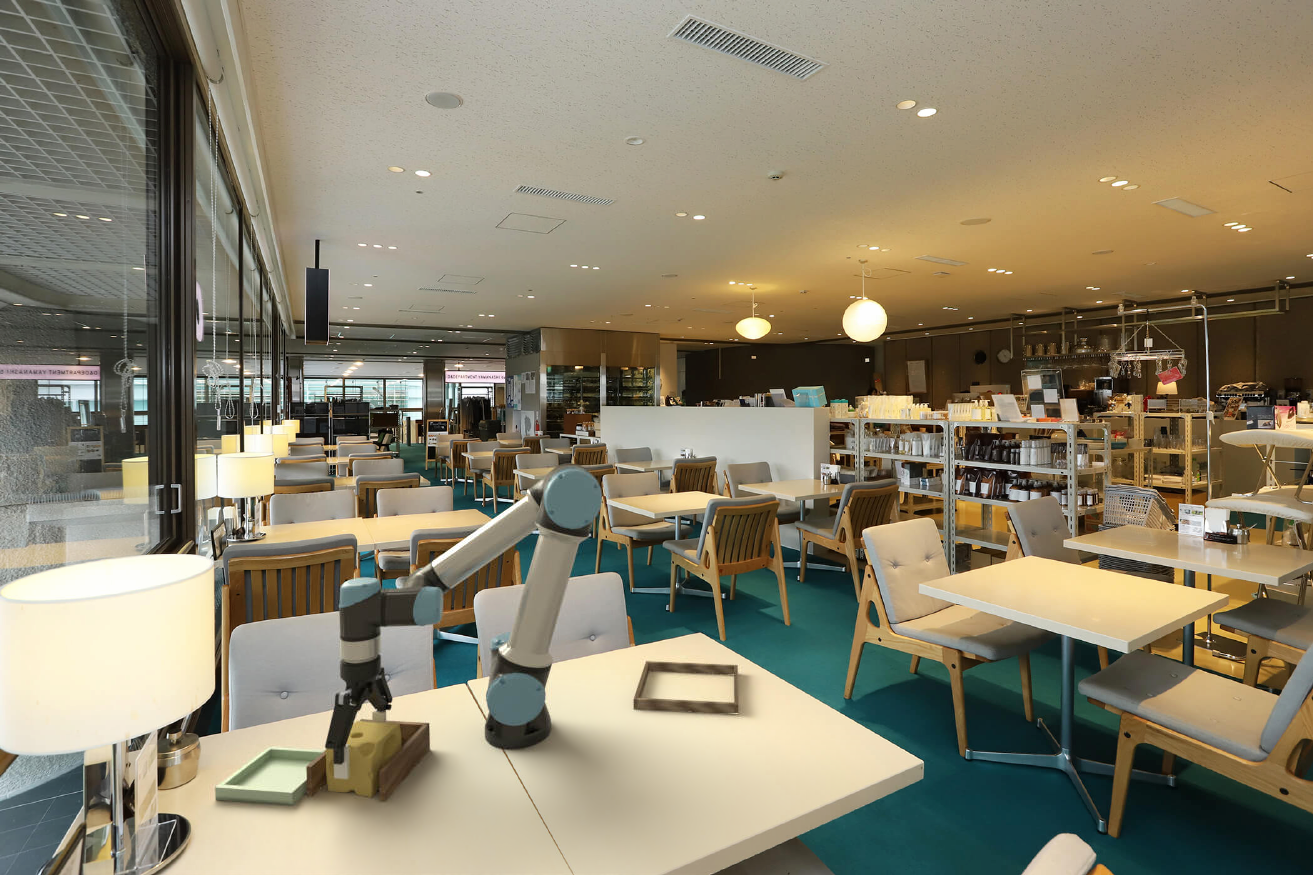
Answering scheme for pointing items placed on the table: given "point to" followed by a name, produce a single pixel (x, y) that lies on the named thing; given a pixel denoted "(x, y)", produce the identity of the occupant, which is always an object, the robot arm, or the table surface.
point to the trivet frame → (686, 704)
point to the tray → (270, 777)
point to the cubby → (396, 768)
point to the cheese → (365, 757)
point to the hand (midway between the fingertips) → (361, 758)
